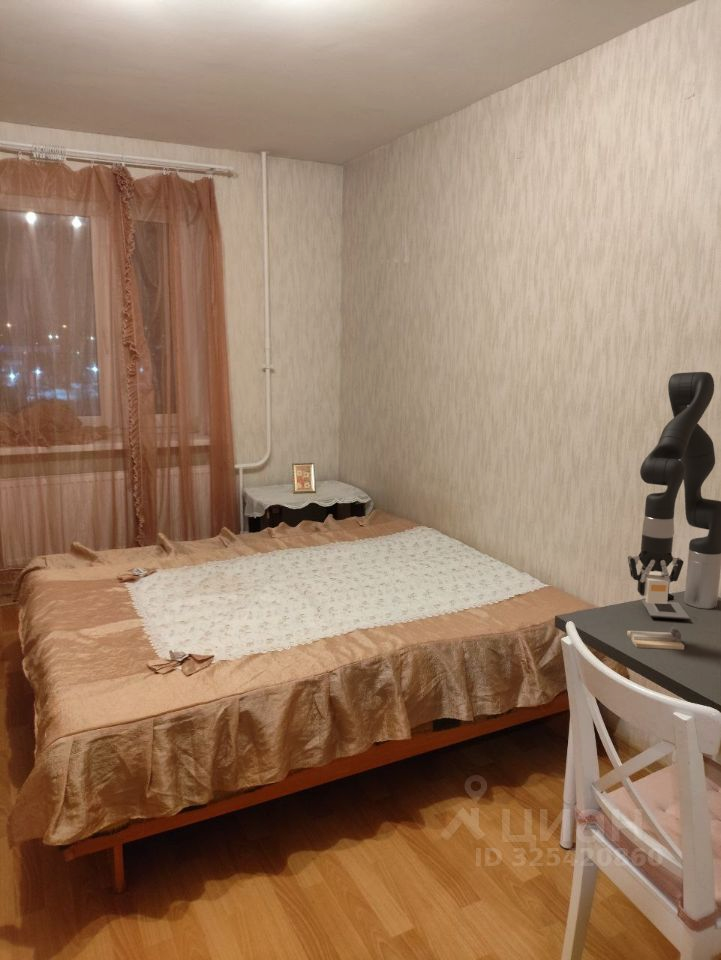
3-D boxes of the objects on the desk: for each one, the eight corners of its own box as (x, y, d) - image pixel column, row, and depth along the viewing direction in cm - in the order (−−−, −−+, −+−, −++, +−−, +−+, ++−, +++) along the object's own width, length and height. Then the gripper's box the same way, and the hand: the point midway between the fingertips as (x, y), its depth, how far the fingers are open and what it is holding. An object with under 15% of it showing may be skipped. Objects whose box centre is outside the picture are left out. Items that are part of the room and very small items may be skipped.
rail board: (627, 634, 188) (628, 622, 187) (672, 636, 186) (673, 624, 186) (636, 647, 179) (637, 635, 178) (684, 649, 178) (685, 637, 177)
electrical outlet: (688, 624, 196) (689, 616, 195) (650, 621, 198) (650, 613, 198) (677, 608, 208) (678, 601, 208) (641, 606, 211) (641, 598, 210)
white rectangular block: (667, 604, 176) (669, 581, 175) (647, 603, 177) (649, 580, 176) (657, 593, 184) (659, 571, 183) (638, 592, 185) (640, 571, 184)
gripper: (681, 530, 181) (675, 591, 183) (625, 529, 182) (620, 589, 185) (691, 537, 173) (685, 601, 176) (633, 535, 175) (628, 598, 178)
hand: (652, 594), depth 181 cm, fingers closed on white rectangular block, 5 cm apart
